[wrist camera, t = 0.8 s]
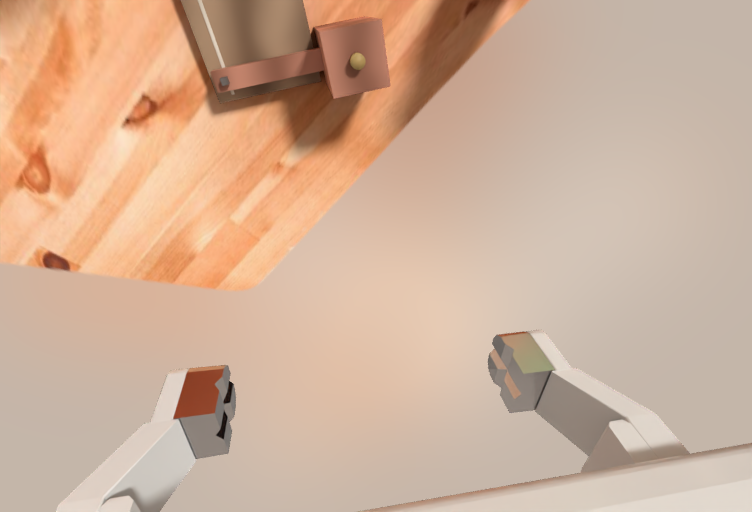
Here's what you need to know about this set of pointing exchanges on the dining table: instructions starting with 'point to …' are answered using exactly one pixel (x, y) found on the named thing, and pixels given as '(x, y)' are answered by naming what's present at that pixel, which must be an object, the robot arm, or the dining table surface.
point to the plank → (249, 37)
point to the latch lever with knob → (323, 61)
